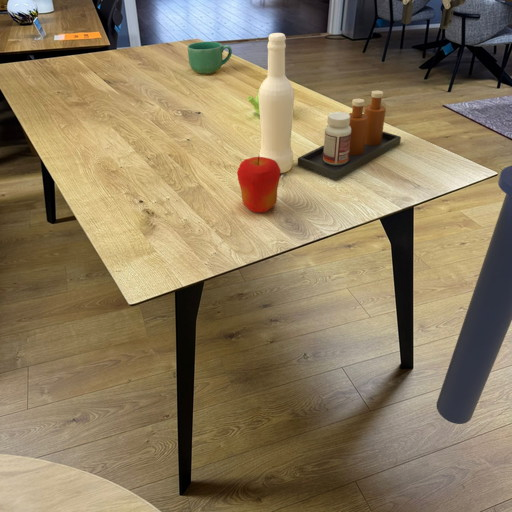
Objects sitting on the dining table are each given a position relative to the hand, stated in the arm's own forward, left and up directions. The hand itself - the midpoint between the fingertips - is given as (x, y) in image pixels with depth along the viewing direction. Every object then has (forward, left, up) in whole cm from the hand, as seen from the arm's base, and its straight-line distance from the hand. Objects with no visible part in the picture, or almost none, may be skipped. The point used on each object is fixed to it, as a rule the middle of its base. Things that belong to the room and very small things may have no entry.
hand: (424, 26), depth 101 cm
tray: (+10, +8, -30) cm, 32 cm away
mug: (+93, -18, -30) cm, 99 cm away
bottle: (+19, +26, -30) cm, 44 cm away
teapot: (+44, +1, -30) cm, 53 cm away
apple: (+9, +42, -30) cm, 52 cm away
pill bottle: (+10, +14, -29) cm, 34 cm away
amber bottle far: (+10, -1, -29) cm, 31 cm away
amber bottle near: (+10, +7, -29) cm, 32 cm away
